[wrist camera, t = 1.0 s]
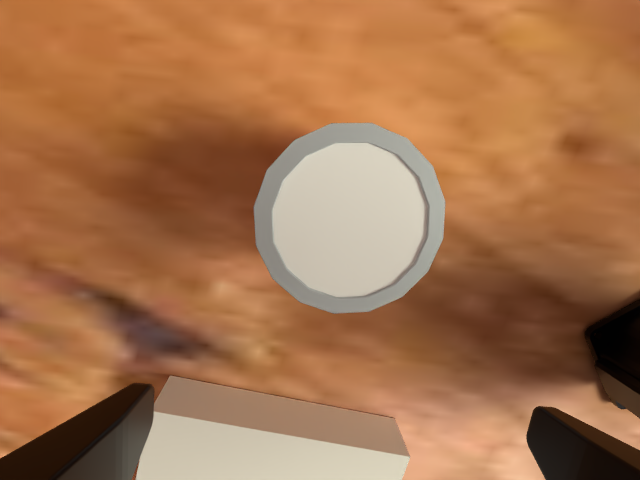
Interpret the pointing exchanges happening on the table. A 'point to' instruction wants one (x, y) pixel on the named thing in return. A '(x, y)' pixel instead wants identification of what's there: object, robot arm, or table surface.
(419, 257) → the white cup
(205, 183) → the table surface
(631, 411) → the robot arm
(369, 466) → the base block
